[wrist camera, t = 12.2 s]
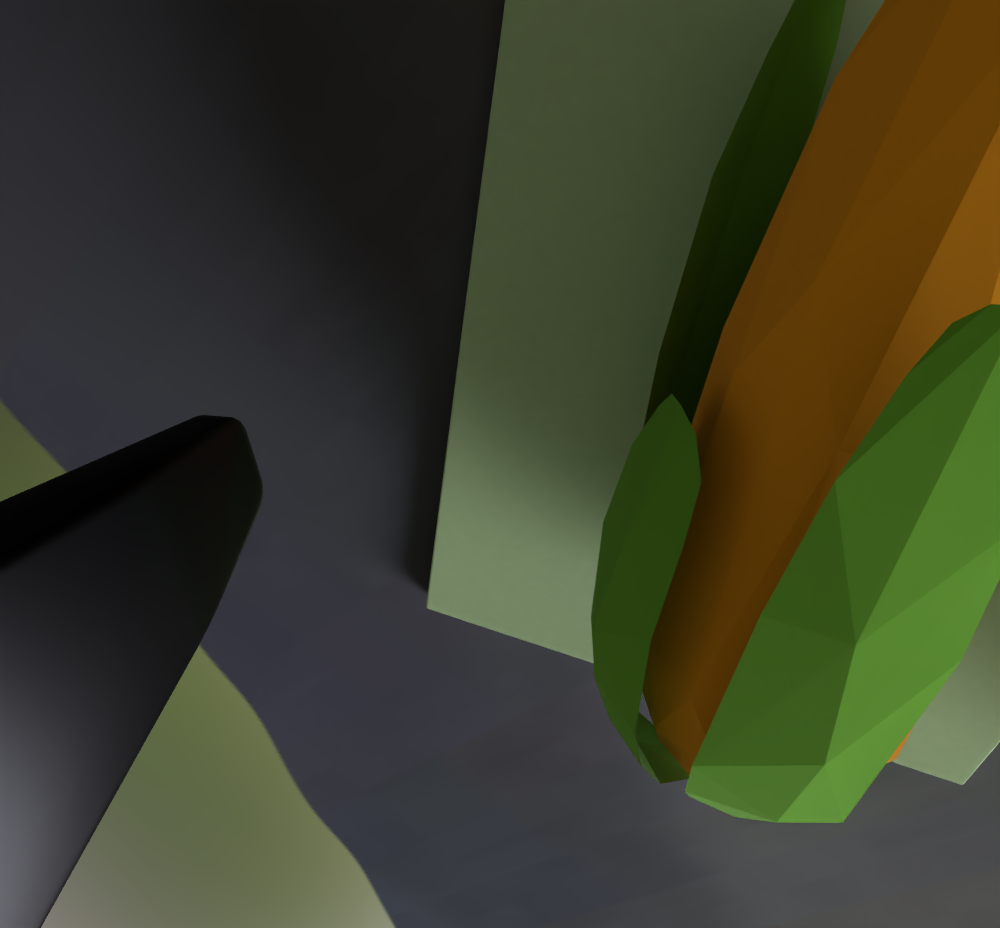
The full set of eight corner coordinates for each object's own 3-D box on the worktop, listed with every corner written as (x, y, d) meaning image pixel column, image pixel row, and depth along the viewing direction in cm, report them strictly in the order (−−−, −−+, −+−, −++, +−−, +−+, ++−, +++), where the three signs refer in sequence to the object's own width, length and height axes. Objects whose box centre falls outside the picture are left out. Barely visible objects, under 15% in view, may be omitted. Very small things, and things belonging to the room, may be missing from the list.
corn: (528, 874, 19) (805, -403, 7) (581, 618, 25) (782, -321, 13) (880, 967, 18) (1915, -305, 6) (849, 679, 24) (1343, -266, 12)
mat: (431, 596, 28) (425, 608, 27) (585, -558, 13) (578, -569, 12) (961, 771, 25) (963, 786, 25) (1925, -380, 10) (1967, -387, 10)
